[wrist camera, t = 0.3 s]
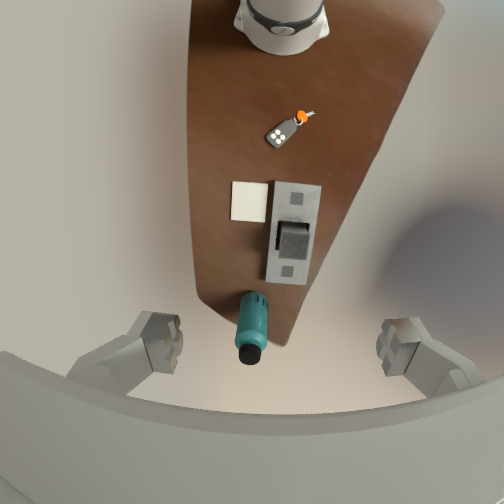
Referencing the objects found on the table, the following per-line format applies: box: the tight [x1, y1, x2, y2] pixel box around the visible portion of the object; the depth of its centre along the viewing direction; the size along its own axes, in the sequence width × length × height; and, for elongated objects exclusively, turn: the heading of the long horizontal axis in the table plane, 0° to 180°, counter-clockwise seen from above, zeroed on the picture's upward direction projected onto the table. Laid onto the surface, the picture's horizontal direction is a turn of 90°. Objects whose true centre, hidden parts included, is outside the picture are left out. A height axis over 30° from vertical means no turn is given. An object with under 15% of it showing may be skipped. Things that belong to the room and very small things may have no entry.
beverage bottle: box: [235, 292, 268, 365], centre depth 55 cm, size 6×7×20 cm
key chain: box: [266, 111, 315, 148], centre depth 48 cm, size 13×4×2 cm, turn 134°
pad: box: [231, 181, 268, 222], centre depth 55 cm, size 8×7×1 cm
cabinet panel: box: [265, 180, 321, 285], centre depth 56 cm, size 22×9×2 cm, turn 176°
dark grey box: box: [278, 221, 310, 260], centre depth 54 cm, size 5×5×7 cm
